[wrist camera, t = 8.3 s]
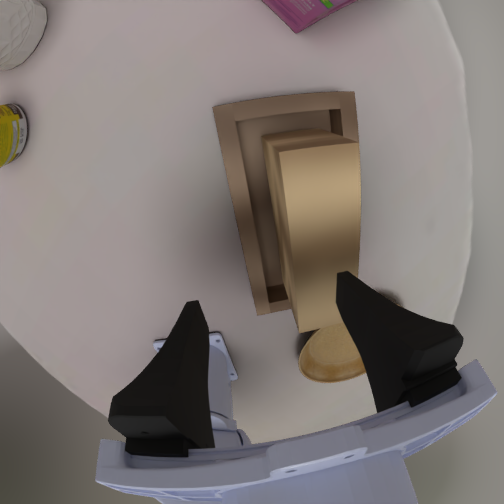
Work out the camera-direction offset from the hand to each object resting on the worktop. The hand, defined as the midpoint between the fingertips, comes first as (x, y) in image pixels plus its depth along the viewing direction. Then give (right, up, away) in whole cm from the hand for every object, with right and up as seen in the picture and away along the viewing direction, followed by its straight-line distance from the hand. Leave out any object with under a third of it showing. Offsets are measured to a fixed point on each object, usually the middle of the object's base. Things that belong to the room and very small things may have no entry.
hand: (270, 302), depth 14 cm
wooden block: (+3, +5, +6) cm, 9 cm away
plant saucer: (+11, -8, +18) cm, 23 cm away
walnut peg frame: (+2, +6, +8) cm, 10 cm away
